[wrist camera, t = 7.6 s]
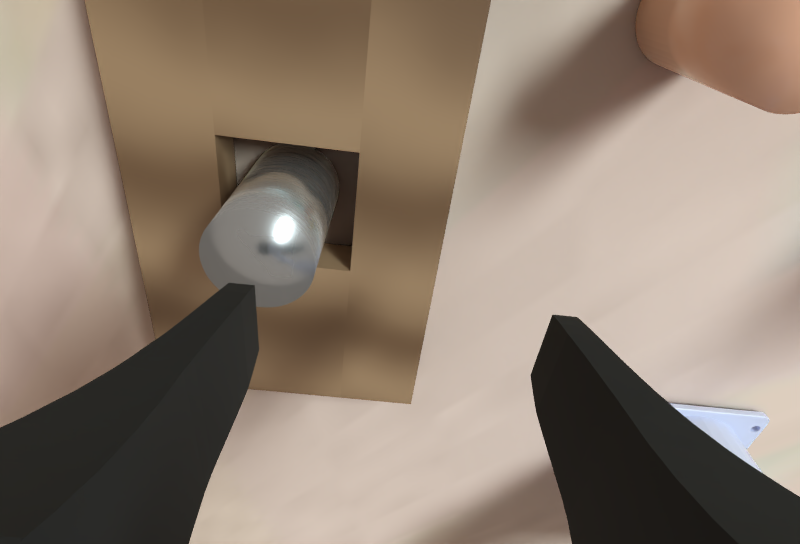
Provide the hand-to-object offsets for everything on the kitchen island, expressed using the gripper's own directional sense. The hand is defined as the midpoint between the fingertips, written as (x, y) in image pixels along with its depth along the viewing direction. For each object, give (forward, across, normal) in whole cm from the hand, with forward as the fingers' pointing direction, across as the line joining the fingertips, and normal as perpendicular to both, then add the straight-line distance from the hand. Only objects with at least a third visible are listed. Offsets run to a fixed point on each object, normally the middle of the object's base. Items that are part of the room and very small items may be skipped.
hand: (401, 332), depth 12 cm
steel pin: (+9, +4, 0) cm, 10 cm away
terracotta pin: (+9, -9, -7) cm, 15 cm away
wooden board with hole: (+9, +4, +1) cm, 10 cm away
